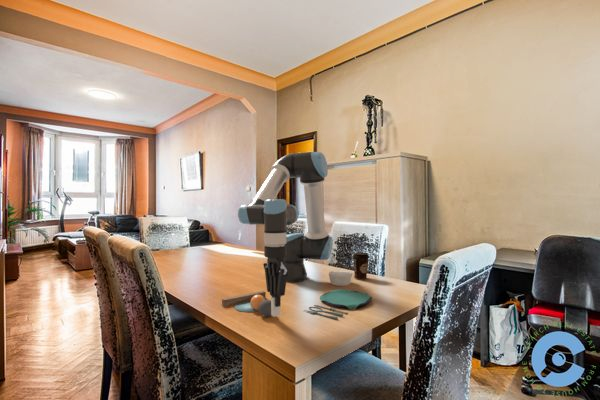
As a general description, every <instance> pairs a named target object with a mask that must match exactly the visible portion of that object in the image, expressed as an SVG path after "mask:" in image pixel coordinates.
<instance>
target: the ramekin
mask: <svg viewBox="0 0 600 400" xmlns="http://www.w3.org/2000/svg"><path fill="white" fill-rule="evenodd" d="M328 276H329V282H330V284H331V285H332V286H338V287H347V286H349V285H350V284H351V282H352V276H353V273H352V272H351V271H348V270H332V271H329V272H328Z"/></svg>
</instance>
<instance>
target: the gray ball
mask: <svg viewBox="0 0 600 400" xmlns="http://www.w3.org/2000/svg"><path fill="white" fill-rule="evenodd" d="M258 312H259V314H260V315H261V316H263V317H265V318H266V317H270V316H271V299H265V300H264V301H262V302H261V303H260V305H259V311H258Z"/></svg>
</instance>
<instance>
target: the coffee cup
mask: <svg viewBox="0 0 600 400" xmlns="http://www.w3.org/2000/svg"><path fill="white" fill-rule="evenodd" d="M369 258H370V256H369V254H368V253H367V252H354V253H353V255H352V261H353V272H354V276H353V277H354V279H355V280H361V281H362V280H366V279H367V277H368V276H367V275H368V274H367V273H368V269H369Z"/></svg>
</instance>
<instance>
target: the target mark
mask: <svg viewBox="0 0 600 400" xmlns="http://www.w3.org/2000/svg"><path fill="white" fill-rule="evenodd" d="M234 309H235V310H237V311H238V312H242V313H256V312H259V310H254V309H253V308H252V307H251V304H250V301H247V302H242V303H237V304H235V305H234Z"/></svg>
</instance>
